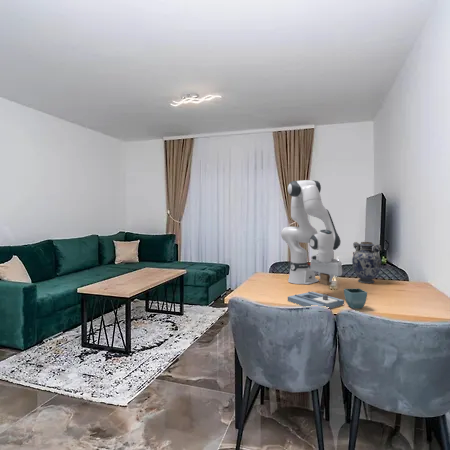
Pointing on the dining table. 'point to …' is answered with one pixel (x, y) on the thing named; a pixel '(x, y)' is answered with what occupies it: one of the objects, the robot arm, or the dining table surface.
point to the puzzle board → (307, 300)
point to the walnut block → (324, 279)
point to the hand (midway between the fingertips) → (325, 280)
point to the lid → (325, 299)
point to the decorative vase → (366, 261)
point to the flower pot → (355, 297)
